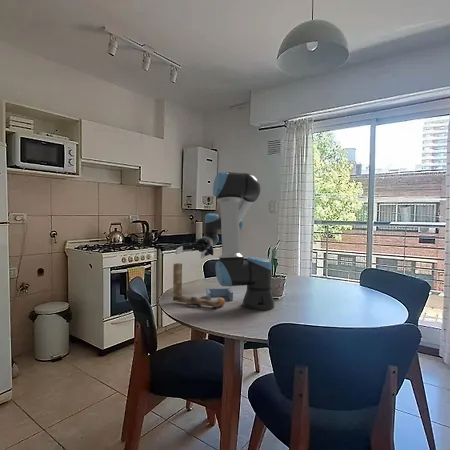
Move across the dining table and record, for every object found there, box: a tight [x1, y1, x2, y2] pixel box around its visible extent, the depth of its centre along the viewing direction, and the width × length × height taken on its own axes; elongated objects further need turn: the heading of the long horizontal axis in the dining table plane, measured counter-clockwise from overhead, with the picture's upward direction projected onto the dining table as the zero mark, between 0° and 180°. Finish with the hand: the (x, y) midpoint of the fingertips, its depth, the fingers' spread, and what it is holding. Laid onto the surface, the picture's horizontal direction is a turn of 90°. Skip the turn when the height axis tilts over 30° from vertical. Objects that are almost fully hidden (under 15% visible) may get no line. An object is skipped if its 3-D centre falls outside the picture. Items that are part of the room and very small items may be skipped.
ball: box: [216, 297, 226, 307], centre depth 163 cm, size 4×4×4 cm
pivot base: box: [185, 303, 202, 308], centre depth 163 cm, size 7×7×1 cm
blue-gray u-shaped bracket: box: [205, 287, 234, 301], centre depth 177 cm, size 10×12×4 cm
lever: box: [172, 262, 221, 308], centre depth 162 cm, size 24×3×18 cm, turn 67°
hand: (188, 253), depth 171 cm, fingers open, 13 cm apart
